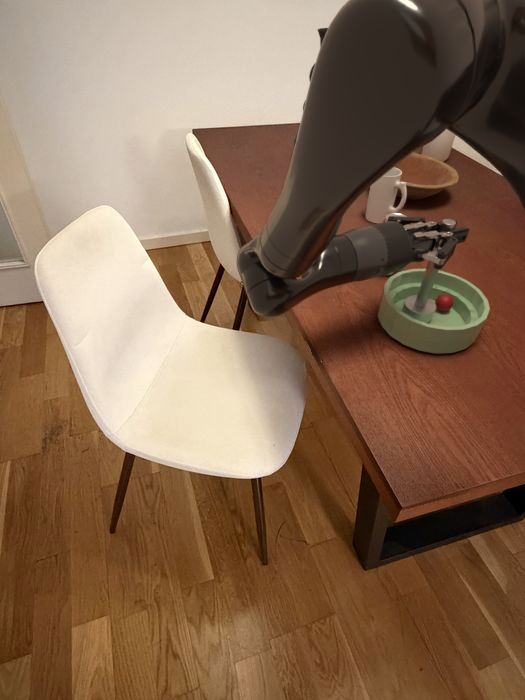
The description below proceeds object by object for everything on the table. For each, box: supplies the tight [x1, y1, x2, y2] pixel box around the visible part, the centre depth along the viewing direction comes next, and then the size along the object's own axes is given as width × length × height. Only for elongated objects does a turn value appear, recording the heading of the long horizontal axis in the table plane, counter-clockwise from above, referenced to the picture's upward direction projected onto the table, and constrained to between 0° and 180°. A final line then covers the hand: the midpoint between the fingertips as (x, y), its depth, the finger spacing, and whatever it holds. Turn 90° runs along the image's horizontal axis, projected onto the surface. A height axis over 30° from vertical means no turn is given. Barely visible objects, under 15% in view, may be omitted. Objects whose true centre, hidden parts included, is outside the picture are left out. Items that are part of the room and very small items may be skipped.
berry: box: [435, 294, 454, 312], centre depth 75 cm, size 3×3×3 cm
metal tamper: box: [402, 218, 457, 323], centre depth 68 cm, size 6×6×18 cm
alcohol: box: [421, 129, 456, 162], centre depth 125 cm, size 9×9×30 cm
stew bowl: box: [377, 268, 491, 355], centre depth 72 cm, size 18×18×6 cm
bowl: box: [395, 151, 460, 201], centre depth 112 cm, size 24×24×8 cm
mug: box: [364, 167, 407, 224], centre depth 99 cm, size 10×7×12 cm, turn 39°
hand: (459, 229), depth 64 cm, fingers closed on metal tamper
